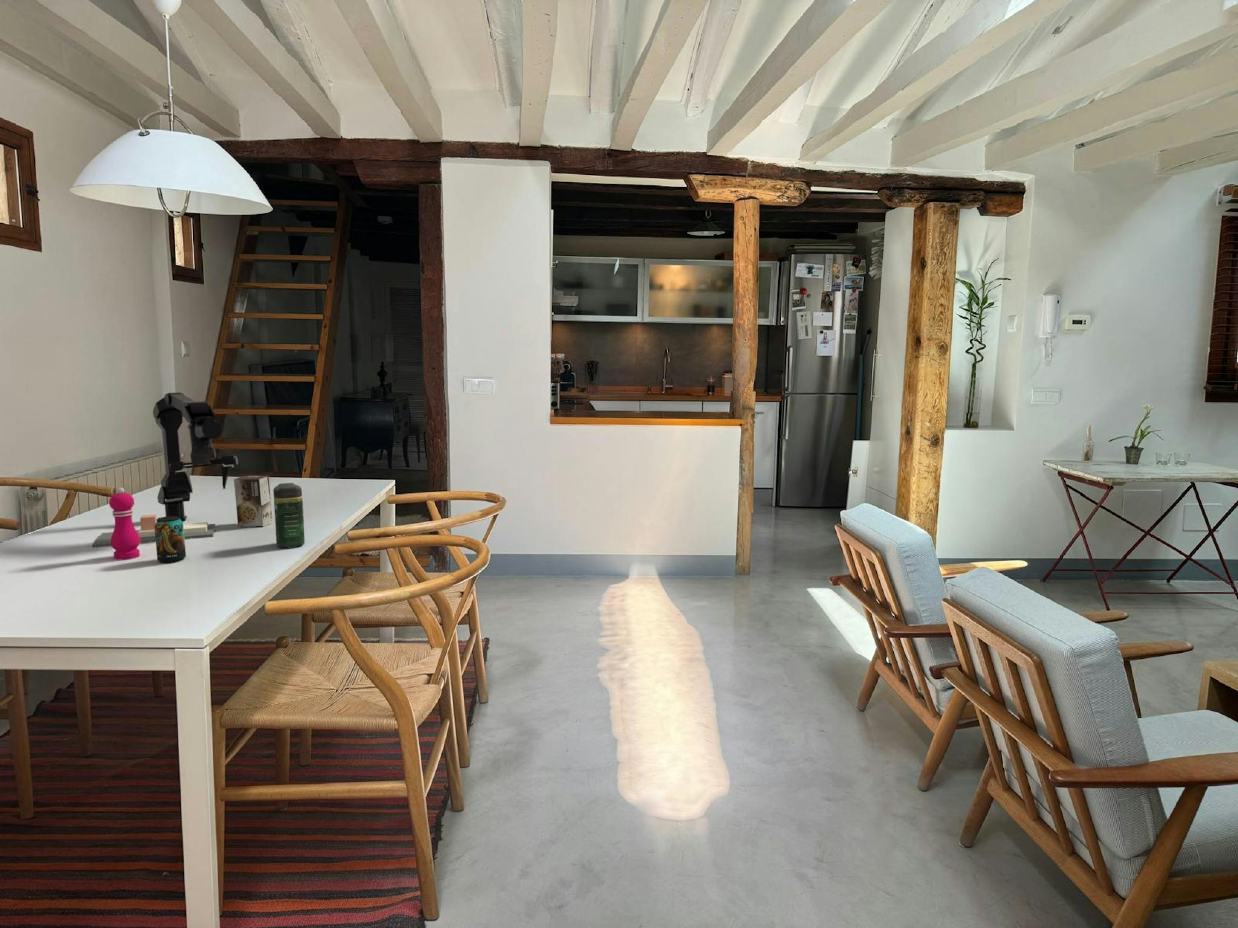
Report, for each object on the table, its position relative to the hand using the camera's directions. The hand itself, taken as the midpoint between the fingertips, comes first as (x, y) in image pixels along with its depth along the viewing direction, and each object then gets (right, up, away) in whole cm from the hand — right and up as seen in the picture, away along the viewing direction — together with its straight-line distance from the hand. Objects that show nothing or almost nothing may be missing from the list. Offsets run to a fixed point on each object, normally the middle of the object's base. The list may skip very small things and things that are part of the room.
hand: (208, 490), depth 252 cm
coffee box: (+8, -12, +16) cm, 21 cm away
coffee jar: (+31, -16, -11) cm, 36 cm away
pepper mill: (-10, -18, -24) cm, 32 cm away
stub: (-17, -14, 0) cm, 22 cm away
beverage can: (+4, -19, -28) cm, 34 cm away
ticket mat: (-16, -14, 0) cm, 21 cm away
